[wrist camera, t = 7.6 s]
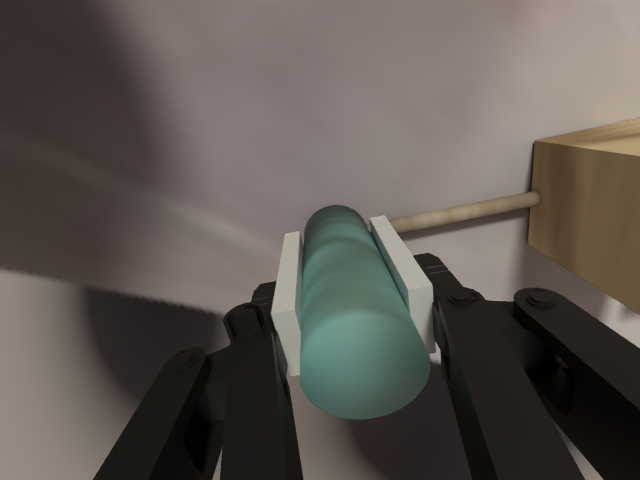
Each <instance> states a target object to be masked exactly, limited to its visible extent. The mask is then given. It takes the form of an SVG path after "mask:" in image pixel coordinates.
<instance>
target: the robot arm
mask: <svg viewBox="0 0 640 480" xmlns="http://www.w3.org/2000/svg"><path fill="white" fill-rule="evenodd" d="M370 225H371V233H372V238H373V240H374V242H375V244H376V246H377V248H378V250H379V252H380V254H381V256H382V258H383V260H384V262H385V265H386V267H387V269H388V271H389V273H390V275H391V277H392V279H393V281H394V283H395V285H396V287H397V289H398V291H399V293H400V295H401V297H402V299H403V301H404V303H405V306H406V308H407V310H408V312H409V314H410V316H411V318H412V320H413V322H414V324H415V326H416V328H417V330H418V332H419V334H420V336H421V338H422V340H423V342H424V344H425V347H426V349H427V351H428V354H430V353H436V347H435V341H436V343H437V344H438V346H439V348H440V350H441V373H442V379H446V383H447V386H448V390H449V394H450V398H451V401H452V405H453V409H454V413H455V416H456V420H457V424H458V428H459V432H460V435H461V439H462V443H463V447H464V451H465V454H466V458H467V462H468V466H469V470H470V473H471V477H472V480H585V479H584V477H583V475H582V473H581V472H580V470H579V468H578V466H577V464H576V462H575V461H574V459H573V457H572V455H571V453H570V452H569V450H568V448H567V446H566V444H565V443H564V441H563V439H562V437H561V435H560V434H559V432H558V430H557V428H556V427H555V425H554V423H553V421H552V419H553V420H554V421H555V423H556V424H557V425H558V426H559V427H560V429H561V430H562V431H563V432H564V433H565V434H566V436H567V437H568V438H569V439H570V440H571V441H572V442H573V444H574V445H575V446H576V447H577V449H578V450H579V451H580V452H581V453H582V454H583V456H584V457H585V458H586V459H587V460H588V462H589V463H590V464H591V465H592V466H593V467H594V469H595V470H596V471H597V472H598V473H599V474H600V476H601V477H602V478H603V479H604V480H640V348H638V347H637V346H635V345H634V344H632V343H631V342H630V341H628V340H627V339H625V338H624V337H622V336H621V335H619V334H618V333H616V332H615V331H613V330H612V329H610V328H609V327H608V326H606V325H605V324H603V323H602V322H600V321H599V320H597V319H596V318H594V317H593V316H591V315H590V314H589V313H587V312H586V311H584V310H583V309H581V308H580V307H578V306H577V305H575V304H574V303H572V302H571V301H570V300H568V299H567V298H565V297H564V296H562V295H560V294H558V293H556V292H554V291H551V290H547V289H543V288H525V289H522V290H519V291H517V292H516V294H515V295H514V302H506V301H489V300H485V299H484V297H483V296H482V295H481V294H480V293H479V292H477V291H475V290H473V289H470V288H465V287H463V286H462V285H461V284H460V283H459V281H458V280H457V279H456V278H455V277H454V275H453V274H452V273H451V272H450V271H449V270H448V268H447V267H446V266H445V265H444V264H443V263H442V261H441V260H440V259H439V258H438V257H436V256H434V255H432V254H430V253H425V254H419V255H414V256H412V254H411V253H410V252H409V250H408V249H407V247H406V246H405V244H404V243H403V241H402V240H401V238H400V237H399V236H398V234H397V233H396V231H395V230H394V228H393V227H392V225H391V224H390V222H389V221H388V220H387V218H386V217H385V215H383V216H378V217H372V218H370ZM303 257H304V247H303V243H302V238H301V234H300V231H298V232H292V233H287V234H285V237H284V243H283V249H282V254H281V260H280V265H279V271H278V277H277V281H275V282H269V283H263V284H260V285H259V286H258V287H257V289H256V290H255V291H254V293H253V296H252V301H251V302H249V303H244V304H241V305H238V306H236V307H235V308H233V309H231V310H230V311H229V312H228V313H227V314H226V315H225V317H224V319H223V323H224V325H225V328H226V330H227V333H228V336H229V338H230V341H231V344H230V345H229V346H228V347H225V348H223V349H221V350H219V351H216V352H214V353H212V354H209V355H206V353H205V350H204V349H202V348H200V347H191V348H188V349H184V350H182V351H180V352H178V353H176V354H175V355H174V356H172V357H171V358H170V359H169V360H168V361H167V362H166V364H165V365H164V366H163V368H162V369H161V371H160V373H159V374H158V376H157V378H156V379H155V381H154V382H153V384H152V386H151V387H150V389H149V390H148V392H147V393H146V395H145V397H144V398H143V400H142V402H141V403H140V405H139V406H138V408H137V410H136V411H135V413H134V414H133V416H132V418H131V419H130V421H129V422H128V424H127V426H126V427H125V429H124V431H123V432H122V434H121V435H120V437H119V439H118V440H117V442H116V443H115V445H114V447H113V448H112V450H111V451H110V453H109V455H108V456H107V458H106V459H105V461H104V463H103V464H102V466H101V468H100V469H99V471H98V472H97V474H96V476H95V477H94V479H93V480H212V478H213V475H214V472H215V468H216V466H217V462H218V459H219V456H220V453H221V449H222V460H221V473H220V480H303V474H302V467H301V461H300V454H299V448H298V441H297V435H296V428H295V421H294V415H293V408H292V402H291V396H290V389H289V385H288V382H287V378H286V373H287V368H288V371H289V374H290V377H292V376H297V375H300V345H301V315H302V286H303ZM551 418H552V419H551ZM222 446H223V447H222Z"/></svg>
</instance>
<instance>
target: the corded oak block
mask: <svg viewBox="0 0 640 480" xmlns="http://www.w3.org/2000/svg"><path fill="white" fill-rule="evenodd" d="M528 207H530V220H529V235H528V245H529V246H531V247H533V248H534V249H536V250H537V251H539V252H541V253H542V254H544V255H545V256H547V257H549V258H550V259H552V260H553V261H555V262H556V263H558V264H560V265H561V266H563V267H564V268H566V269H568V270H569V271H571V272H572V273H574V274H576V275H577V276H579V277H580V278H582V279H584V280H585V281H587V282H588V283H590V284H592V285H593V286H595V287H596V288H598V289H599V290H601V291H603V292H604V293H606V294H607V295H609V296H611V297H612V298H614V299H615V300H617V301H619V302H620V303H622V304H623V305H625V306H627V307H628V308H630V309H631V310H633V311H634V312H636V313H638V314H639V315H640V119H635V120H630V121H626V122H621V123H616V124H611V125H607V126H602V127H597V128H592V129H588V130H583V131H578V132H573V133H569V134H564V135H559V136H554V137H550V138H545V139H540V140H535V147H534V162H533V176H532V191H531V192H528V193H523V194H518V195H513V196H508V197H503V198H498V199H493V200H488V201H484V202H479V203H474V204H469V205H464V206H459V207H454V208H449V209H444V210H439V211H434V212H429V213H424V214H419V215H415V216H410V217H405V218H400V219H395V220H390V221H389V222H390V224H391V225H392V227H393V228H394V230H395V231H396V233H397V234H399V233H404V232H409V231H414V230H419V229H424V228H429V227H434V226H439V225H444V224H449V223H454V222H459V221H464V220H469V219H474V218H479V217H484V216H489V215H494V214H499V213H504V212H508V211H513V210H518V209H523V208H528ZM429 373H430V357H429V354H428V351H427V349H426V347H425V344H424V342H423V340H422V338H421V336H420V334H419V332H418V330H417V328H416V326H415V324H414V322H413V320H412V318H411V316H410V314H409V312H408V310H407V308H406V306H405V303H404V301H403V299H402V297H401V295H400V293H399V291H398V289H397V287H396V285H395V283H394V281H393V279H392V277H391V275H390V273H389V271H388V269H387V267H386V265H385V262H384V260H383V258H382V256H381V254H380V252H379V250H378V248H377V246H376V244H375V242H374V240H373V238H372V233H371V225H366V223H365V222H364V220H363V218H362V217H361V215H360V214H358V213H357V212H356V211H355V210H353V209H351V208H349V207H346V206H341V205H332V206H328V207H325V208H322V209H320V210H319V211H317V212H316V213H315V214H314V215H312V217H311V218H310V219H309V221H308V222H307V225H306V227H305V232H304V257H303V286H302V315H301V345H300V382H301V386H302V389H303V391H304V393H305V394H306V396H307V397H308V398H309V400H310V401H311V402H312V403H313V404H314V405H316V406H317V407H318V408H320V409H321V410H323V411H325V412H327V413H329V414H332V415H335V416H338V417H342V418H348V419H370V418H376V417H381V416H384V415H387V414H390V413H392V412H395V411H397V410H399V409H401V408H402V407H404V406H406V405H407V404H409V403H410V402H411V401H412V400H413V399H415V398H416V397H417V395H418V394H419V393H420V392H421V391H422V389H423V387H424V386H425V384H426V382H427V380H428V377H429Z"/></svg>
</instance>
